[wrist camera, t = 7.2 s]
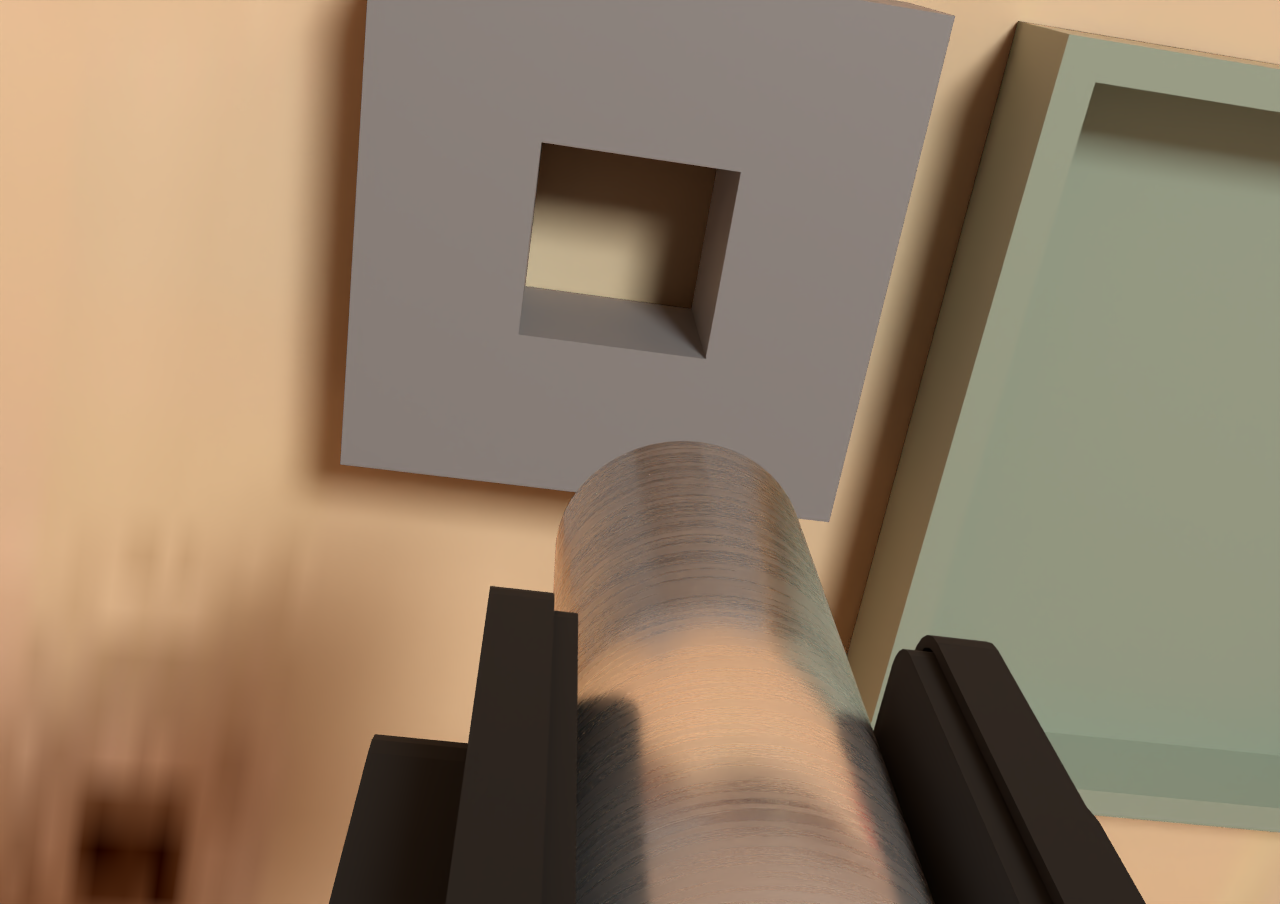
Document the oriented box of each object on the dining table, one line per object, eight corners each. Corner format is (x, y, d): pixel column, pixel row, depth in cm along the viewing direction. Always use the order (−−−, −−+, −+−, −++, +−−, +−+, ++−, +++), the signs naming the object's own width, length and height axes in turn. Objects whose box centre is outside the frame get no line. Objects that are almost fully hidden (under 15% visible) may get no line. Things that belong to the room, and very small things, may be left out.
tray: (1669, 130, 28) (1787, 154, 25) (1348, 772, 35) (1412, 844, 33) (1017, 21, 26) (1069, 34, 23) (829, 721, 34) (851, 792, 31)
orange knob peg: (913, 400, 13) (1780, 1669, 4) (824, 730, 15) (1246, 2155, 5) (506, 346, 12) (271, 1631, 3) (465, 693, 14) (237, 2179, 5)
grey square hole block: (908, 2, 26) (954, 15, 23) (802, 457, 30) (829, 522, 27) (398, -83, 25) (372, -82, 21) (366, 403, 29) (340, 464, 26)
